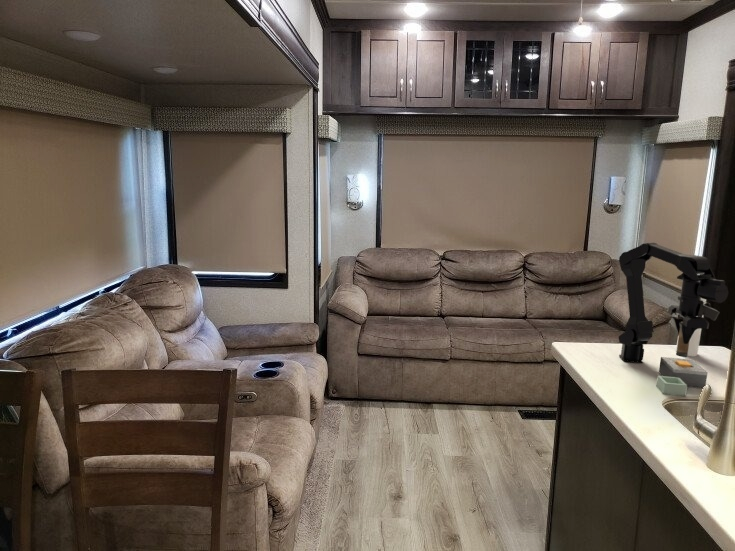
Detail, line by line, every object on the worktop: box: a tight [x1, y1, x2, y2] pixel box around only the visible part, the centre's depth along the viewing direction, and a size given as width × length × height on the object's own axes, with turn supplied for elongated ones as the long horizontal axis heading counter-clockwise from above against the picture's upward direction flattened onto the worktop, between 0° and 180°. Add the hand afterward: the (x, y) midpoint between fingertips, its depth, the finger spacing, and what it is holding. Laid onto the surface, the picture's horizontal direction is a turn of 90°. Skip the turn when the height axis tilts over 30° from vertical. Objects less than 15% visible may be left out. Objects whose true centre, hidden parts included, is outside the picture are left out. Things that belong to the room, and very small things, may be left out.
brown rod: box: [675, 322, 690, 358], centre depth 183 cm, size 3×3×11 cm
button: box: [676, 361, 691, 367], centre depth 185 cm, size 3×3×4 cm
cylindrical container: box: [675, 298, 707, 357], centre depth 212 cm, size 7×7×25 cm
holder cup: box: [656, 375, 688, 397], centre depth 176 cm, size 6×6×4 cm
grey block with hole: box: [658, 356, 708, 389], centre depth 185 cm, size 10×12×6 cm
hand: (683, 342), depth 183 cm, fingers closed on brown rod, 3 cm apart
